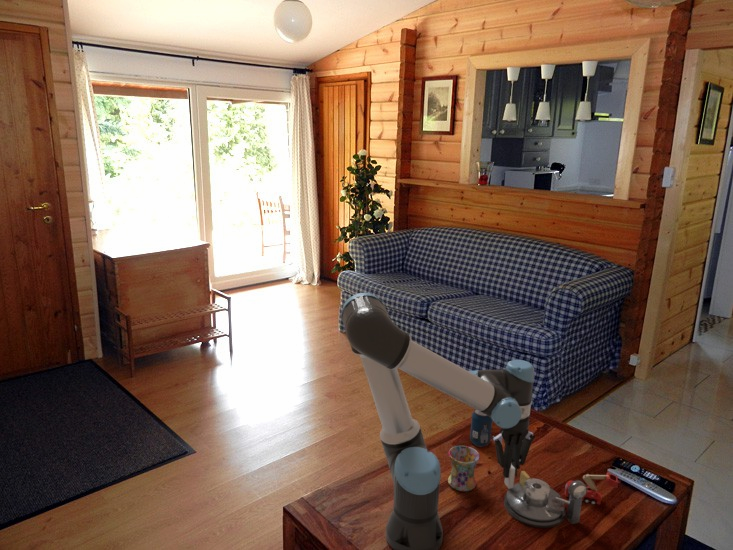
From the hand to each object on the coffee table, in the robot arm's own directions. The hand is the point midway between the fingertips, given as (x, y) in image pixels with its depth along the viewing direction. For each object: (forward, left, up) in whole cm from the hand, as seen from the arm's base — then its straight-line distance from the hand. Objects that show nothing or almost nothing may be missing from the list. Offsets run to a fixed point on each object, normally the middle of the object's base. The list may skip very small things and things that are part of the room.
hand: (508, 485), depth 164 cm
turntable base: (+5, -6, -4) cm, 9 cm away
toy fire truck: (+23, -7, -4) cm, 24 cm away
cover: (+5, -6, -1) cm, 8 cm away
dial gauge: (+12, -12, -4) cm, 18 cm away
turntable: (+5, -6, -3) cm, 8 cm away
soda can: (+5, +29, -4) cm, 30 cm away
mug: (-11, +10, -4) cm, 15 cm away
